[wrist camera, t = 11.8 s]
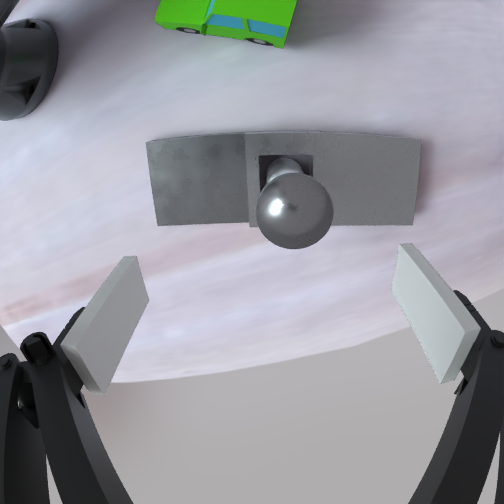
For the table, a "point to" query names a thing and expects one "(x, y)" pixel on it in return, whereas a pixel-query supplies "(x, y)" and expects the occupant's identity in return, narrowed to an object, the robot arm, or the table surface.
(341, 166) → the plate with square hole
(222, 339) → the table surface
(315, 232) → the pin
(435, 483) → the robot arm
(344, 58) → the table surface
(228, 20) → the toy car
